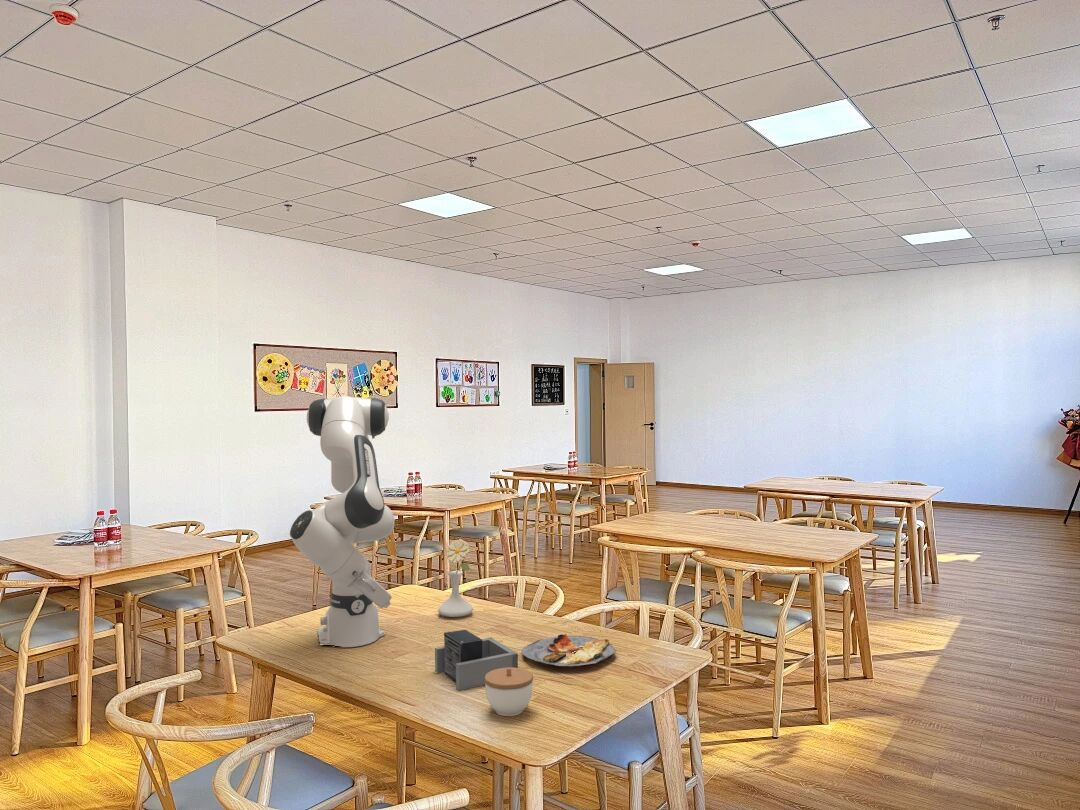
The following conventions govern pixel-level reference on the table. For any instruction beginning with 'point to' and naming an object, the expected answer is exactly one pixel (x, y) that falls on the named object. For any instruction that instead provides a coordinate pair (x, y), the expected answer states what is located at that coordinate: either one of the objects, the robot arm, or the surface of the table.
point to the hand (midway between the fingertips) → (386, 604)
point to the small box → (460, 650)
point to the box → (479, 663)
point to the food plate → (568, 650)
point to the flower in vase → (456, 582)
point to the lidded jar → (509, 690)
